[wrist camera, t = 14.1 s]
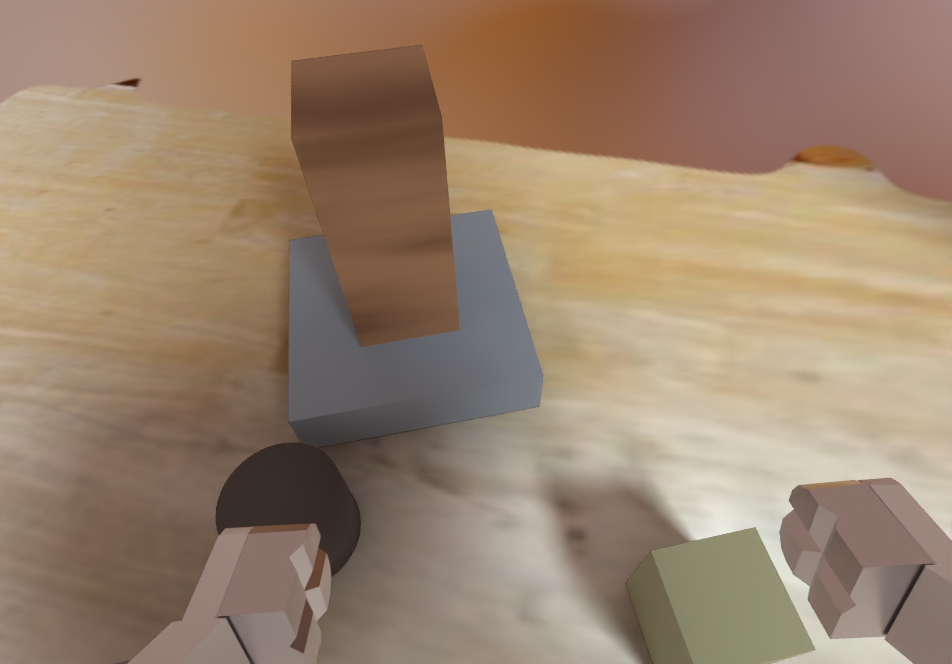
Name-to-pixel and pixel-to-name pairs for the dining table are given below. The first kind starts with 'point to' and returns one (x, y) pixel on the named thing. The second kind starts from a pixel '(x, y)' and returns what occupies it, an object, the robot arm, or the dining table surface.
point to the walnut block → (379, 187)
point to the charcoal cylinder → (293, 497)
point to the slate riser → (408, 349)
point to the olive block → (716, 604)
